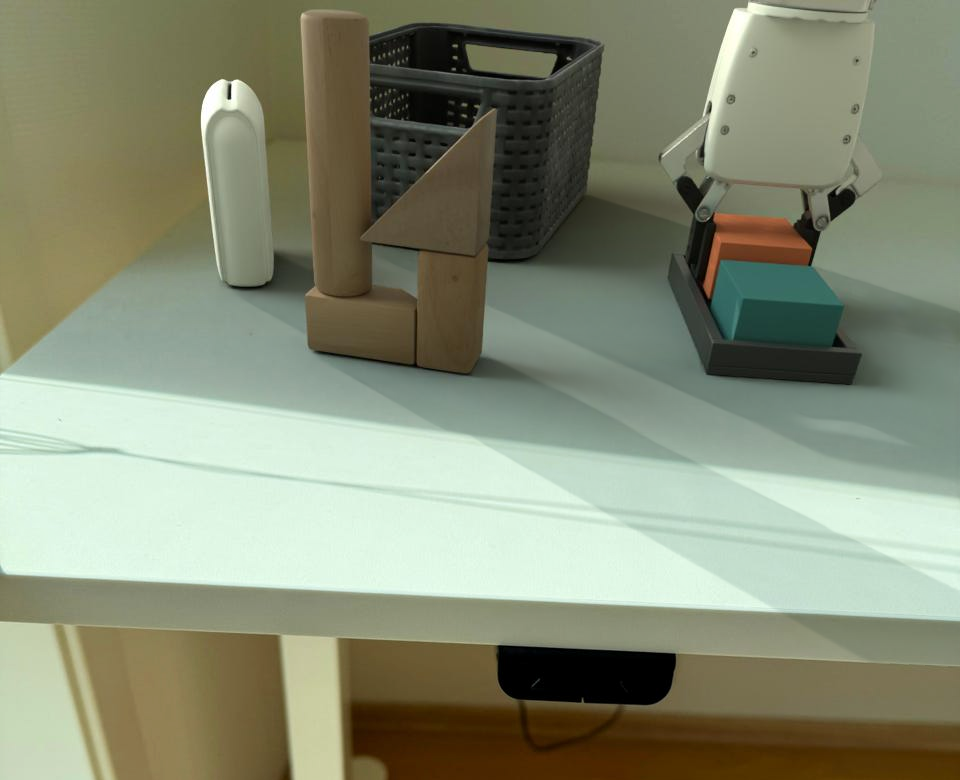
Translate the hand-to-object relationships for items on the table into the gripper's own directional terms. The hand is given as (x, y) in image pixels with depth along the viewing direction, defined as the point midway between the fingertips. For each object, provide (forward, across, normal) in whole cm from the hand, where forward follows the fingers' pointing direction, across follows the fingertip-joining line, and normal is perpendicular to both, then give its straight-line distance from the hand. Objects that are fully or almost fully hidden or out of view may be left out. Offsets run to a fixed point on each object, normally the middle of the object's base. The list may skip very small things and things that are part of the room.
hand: (744, 275), depth 70 cm
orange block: (+1, 0, 0) cm, 1 cm away
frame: (+2, 0, +4) cm, 5 cm away
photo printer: (+2, +38, 0) cm, 38 cm away
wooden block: (+2, +25, +14) cm, 29 cm away
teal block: (+2, 0, +9) cm, 9 cm away
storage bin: (+2, +22, -22) cm, 31 cm away
